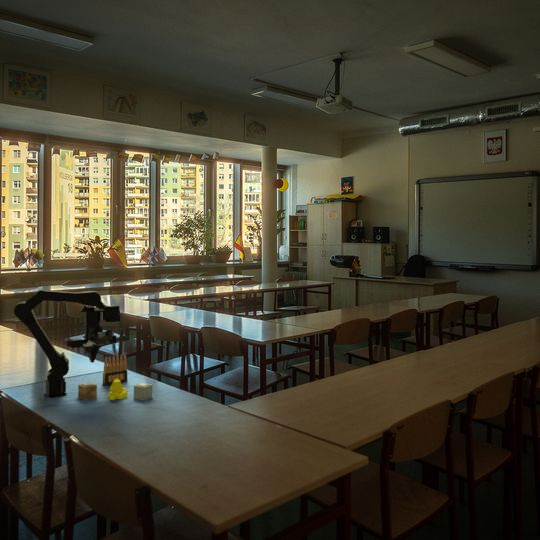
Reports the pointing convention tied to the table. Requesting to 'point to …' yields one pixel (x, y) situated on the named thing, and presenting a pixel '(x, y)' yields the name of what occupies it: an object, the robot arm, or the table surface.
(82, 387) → the walnut tagged block
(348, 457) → the table surface
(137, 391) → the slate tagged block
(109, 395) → the crumpled paper
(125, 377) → the ammunition clip
